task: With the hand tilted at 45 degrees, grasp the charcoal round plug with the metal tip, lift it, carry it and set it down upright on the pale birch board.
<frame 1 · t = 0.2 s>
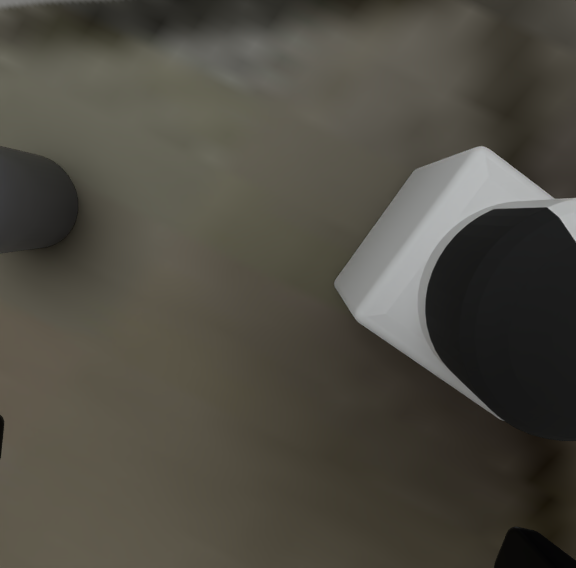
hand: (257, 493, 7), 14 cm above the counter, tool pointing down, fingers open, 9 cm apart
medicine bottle: (427, 266, 21), on the counter
charcoal plug: (31, 201, 20), on the counter
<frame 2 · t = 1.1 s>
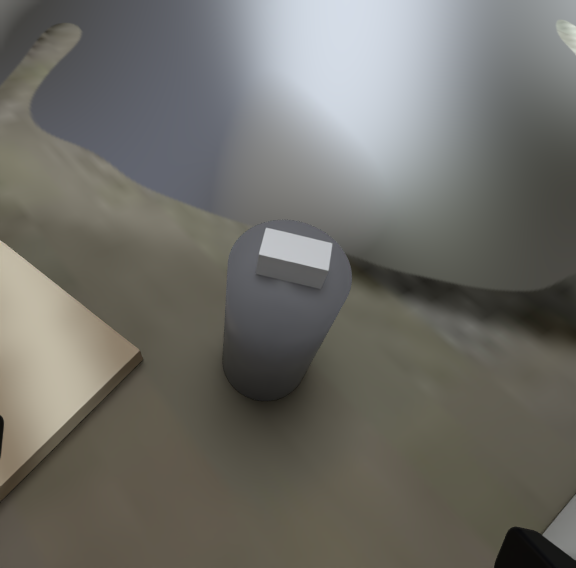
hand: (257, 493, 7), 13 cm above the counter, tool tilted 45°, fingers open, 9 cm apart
charcoal plug: (264, 359, 23), on the counter
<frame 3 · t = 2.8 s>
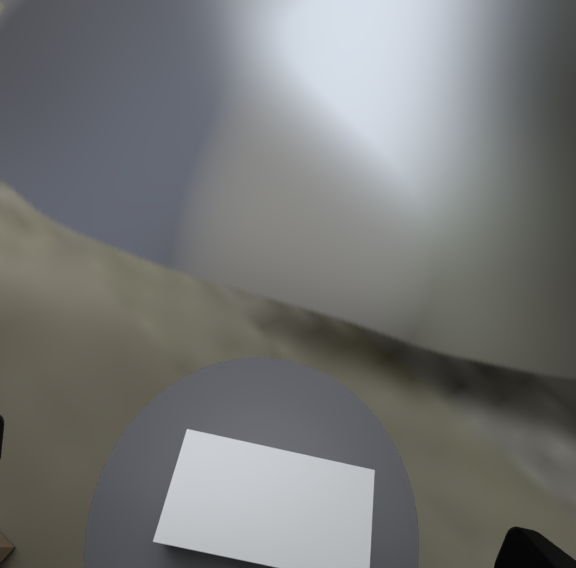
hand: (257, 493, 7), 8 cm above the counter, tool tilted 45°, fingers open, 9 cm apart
charcoal plug: (233, 532, 13), on the counter
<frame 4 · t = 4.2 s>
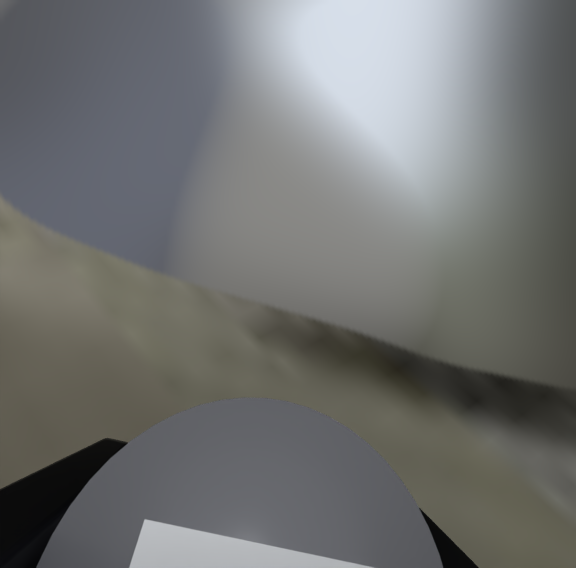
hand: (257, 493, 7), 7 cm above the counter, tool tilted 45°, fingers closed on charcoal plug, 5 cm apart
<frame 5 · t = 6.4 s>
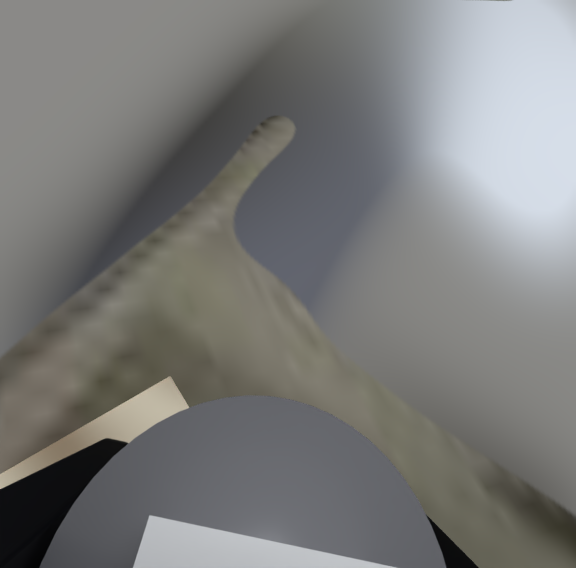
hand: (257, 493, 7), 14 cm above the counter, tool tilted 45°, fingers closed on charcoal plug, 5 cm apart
charcoal plug: (227, 567, 12), point 7 cm above the counter, touching gripper
when the fingers open (9 cm above the counter, at t = 8.5 s): charcoal plug drops 1 cm, resting on birch board.
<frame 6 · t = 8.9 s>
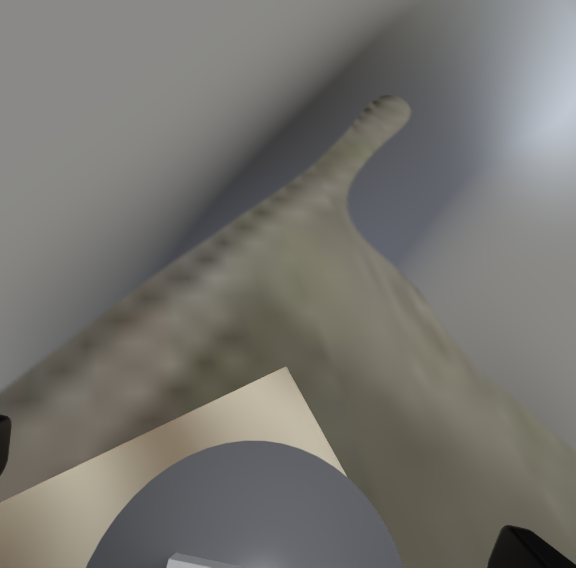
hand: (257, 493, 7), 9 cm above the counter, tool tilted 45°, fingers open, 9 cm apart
charcoal plug: (225, 566, 13), point 1 cm above the counter, touching birch board
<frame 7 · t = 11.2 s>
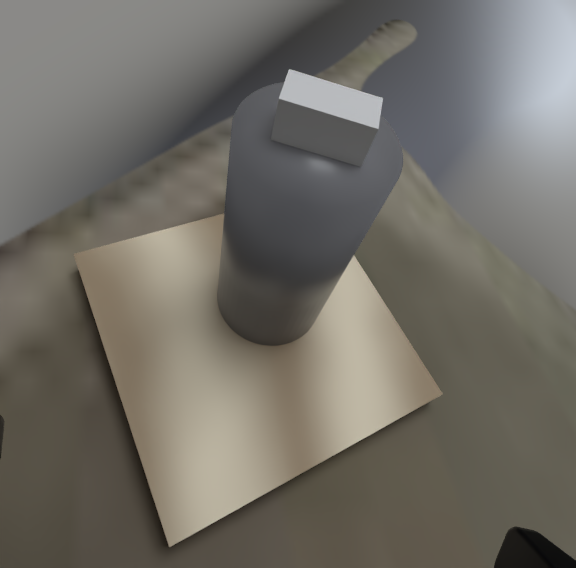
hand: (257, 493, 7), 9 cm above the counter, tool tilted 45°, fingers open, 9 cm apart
birch board: (255, 334, 19), on the counter
charcoal plug: (269, 297, 19), point 1 cm above the counter, touching birch board
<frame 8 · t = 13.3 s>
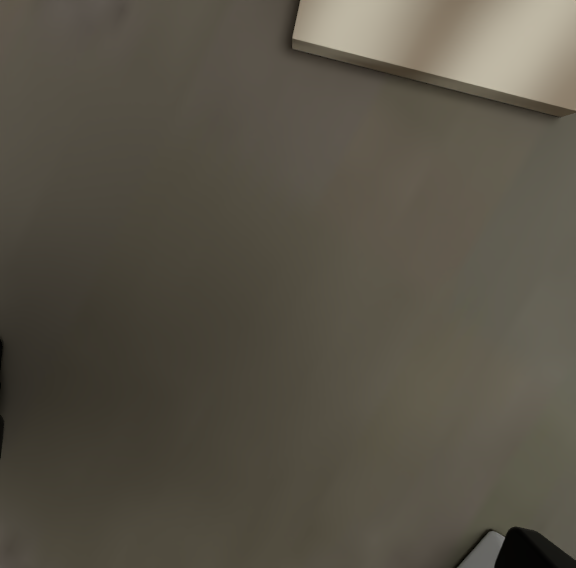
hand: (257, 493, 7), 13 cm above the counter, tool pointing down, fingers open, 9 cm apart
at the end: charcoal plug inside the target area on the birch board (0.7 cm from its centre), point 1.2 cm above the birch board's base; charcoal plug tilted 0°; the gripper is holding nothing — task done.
